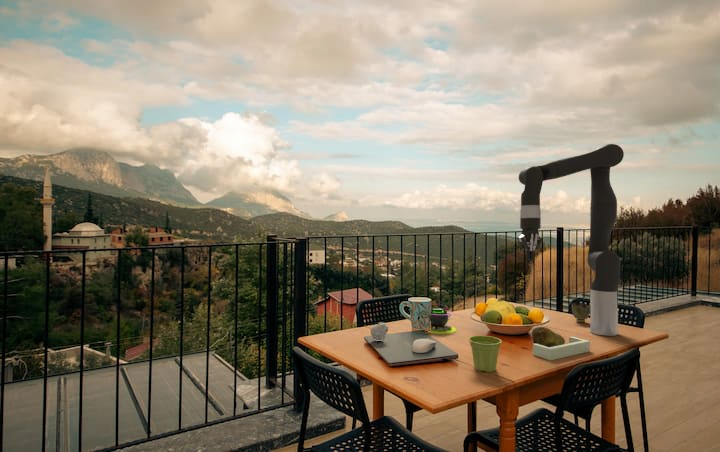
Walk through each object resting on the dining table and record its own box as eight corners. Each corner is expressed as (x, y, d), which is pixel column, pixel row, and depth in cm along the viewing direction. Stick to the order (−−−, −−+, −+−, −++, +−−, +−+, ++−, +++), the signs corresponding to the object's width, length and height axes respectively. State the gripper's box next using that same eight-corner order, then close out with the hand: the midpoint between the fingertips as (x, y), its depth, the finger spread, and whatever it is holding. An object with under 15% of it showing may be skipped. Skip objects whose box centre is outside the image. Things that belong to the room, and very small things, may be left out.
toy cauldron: (462, 329, 169) (463, 302, 169) (444, 336, 157) (444, 307, 157) (431, 323, 178) (431, 298, 178) (412, 329, 167) (412, 302, 167)
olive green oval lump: (574, 353, 137) (574, 329, 137) (538, 354, 135) (538, 330, 135) (559, 345, 145) (559, 323, 145) (525, 346, 143) (525, 324, 143)
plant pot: (483, 376, 114) (483, 345, 114) (462, 365, 123) (462, 337, 123) (508, 371, 118) (508, 342, 118) (486, 362, 127) (486, 334, 127)
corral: (571, 346, 144) (571, 336, 144) (589, 351, 138) (589, 341, 138) (532, 354, 134) (532, 344, 134) (550, 360, 129) (550, 349, 129)
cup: (574, 323, 178) (574, 305, 178) (568, 320, 185) (569, 302, 186) (593, 324, 177) (593, 306, 177) (586, 320, 184) (586, 303, 184)
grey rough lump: (386, 344, 145) (386, 325, 145) (367, 342, 147) (367, 323, 147) (390, 340, 150) (390, 321, 150) (372, 338, 153) (372, 320, 153)
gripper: (533, 217, 169) (533, 259, 169) (511, 216, 163) (511, 260, 163) (549, 217, 162) (549, 260, 162) (526, 216, 156) (526, 261, 156)
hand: (530, 260), depth 162 cm, fingers closed
